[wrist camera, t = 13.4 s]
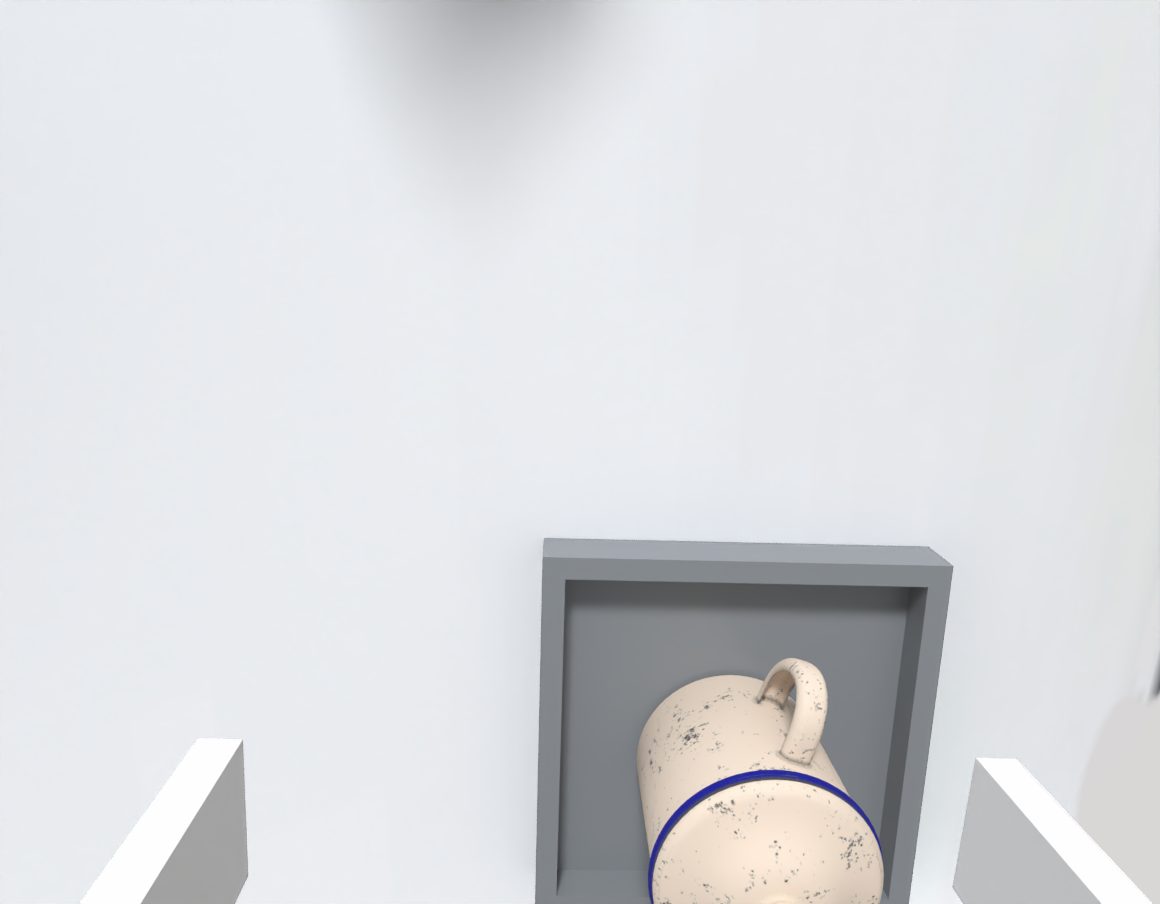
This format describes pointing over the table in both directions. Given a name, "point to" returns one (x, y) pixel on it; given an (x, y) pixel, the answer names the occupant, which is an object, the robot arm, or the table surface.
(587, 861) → the tray
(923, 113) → the table surface
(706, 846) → the teacup with lid
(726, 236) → the table surface
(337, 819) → the table surface
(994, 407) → the table surface
